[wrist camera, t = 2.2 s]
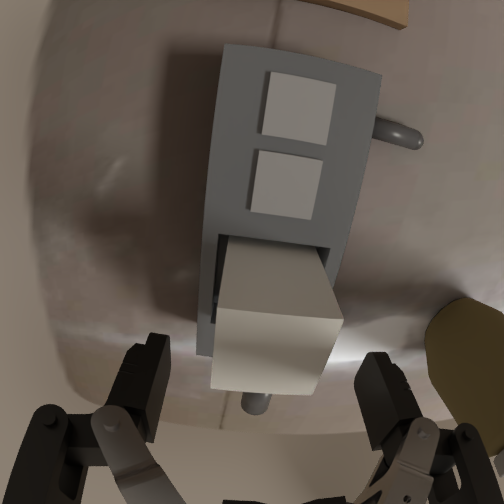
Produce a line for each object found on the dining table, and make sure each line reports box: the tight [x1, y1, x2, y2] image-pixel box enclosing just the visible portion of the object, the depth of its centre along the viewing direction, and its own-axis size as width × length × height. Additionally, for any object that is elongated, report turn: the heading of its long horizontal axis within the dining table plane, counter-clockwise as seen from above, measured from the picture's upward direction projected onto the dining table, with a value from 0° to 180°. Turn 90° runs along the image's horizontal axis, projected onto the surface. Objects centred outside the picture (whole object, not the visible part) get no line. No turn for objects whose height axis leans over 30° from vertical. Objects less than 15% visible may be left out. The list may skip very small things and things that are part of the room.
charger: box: [211, 235, 344, 415], centre depth 15 cm, size 7×4×7 cm, turn 172°
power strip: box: [196, 44, 424, 357], centre depth 16 cm, size 17×11×4 cm, turn 172°
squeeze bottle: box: [424, 298, 504, 477], centre depth 13 cm, size 8×8×18 cm
